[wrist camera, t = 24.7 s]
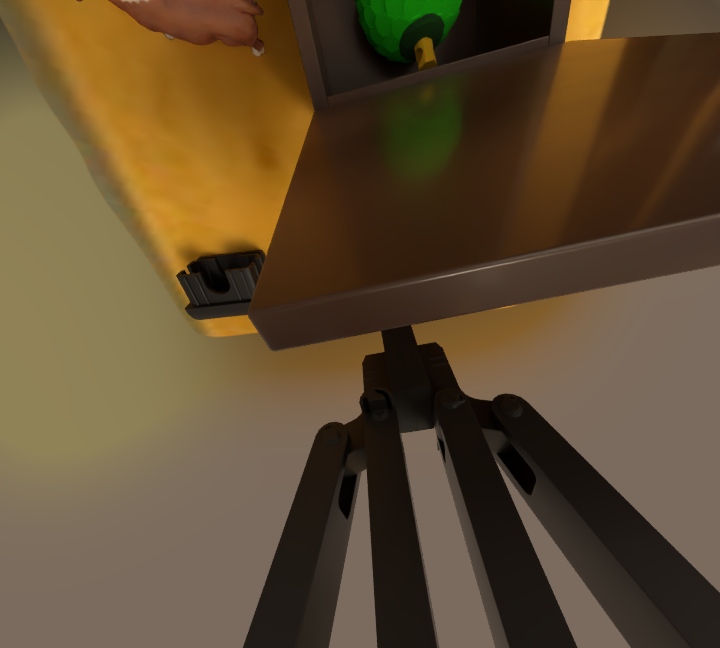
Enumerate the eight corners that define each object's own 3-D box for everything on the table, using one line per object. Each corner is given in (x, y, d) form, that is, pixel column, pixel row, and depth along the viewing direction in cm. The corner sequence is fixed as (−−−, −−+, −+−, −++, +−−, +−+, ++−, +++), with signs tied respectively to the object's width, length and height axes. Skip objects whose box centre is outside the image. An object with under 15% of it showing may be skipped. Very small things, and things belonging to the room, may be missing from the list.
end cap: (215, 302, 42) (194, 329, 36) (193, 257, 37) (167, 279, 32) (281, 294, 41) (271, 321, 36) (266, 248, 37) (253, 270, 32)
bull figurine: (108, -48, 22) (9, -121, 16) (278, 9, 25) (253, -34, 18) (122, 28, 25) (41, -8, 18) (275, 73, 27) (253, 56, 20)
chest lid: (243, 314, 4) (270, 353, 5) (1945, -40, 2) (1642, 89, 3) (313, 111, 18) (317, 127, 19) (570, 40, 17) (566, 60, 17)
